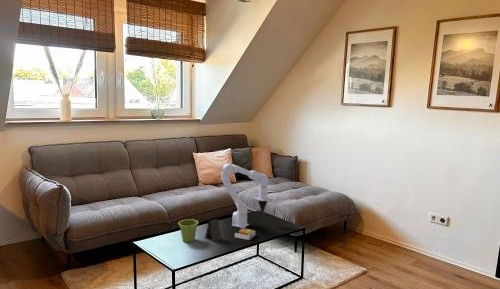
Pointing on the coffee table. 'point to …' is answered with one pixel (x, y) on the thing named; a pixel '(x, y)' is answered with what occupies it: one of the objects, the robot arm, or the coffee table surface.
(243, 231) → the block
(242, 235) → the coupler channel
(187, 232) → the plant pot
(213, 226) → the dark tent-shaped stand
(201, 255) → the coffee table surface
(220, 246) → the coffee table surface
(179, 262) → the coffee table surface
